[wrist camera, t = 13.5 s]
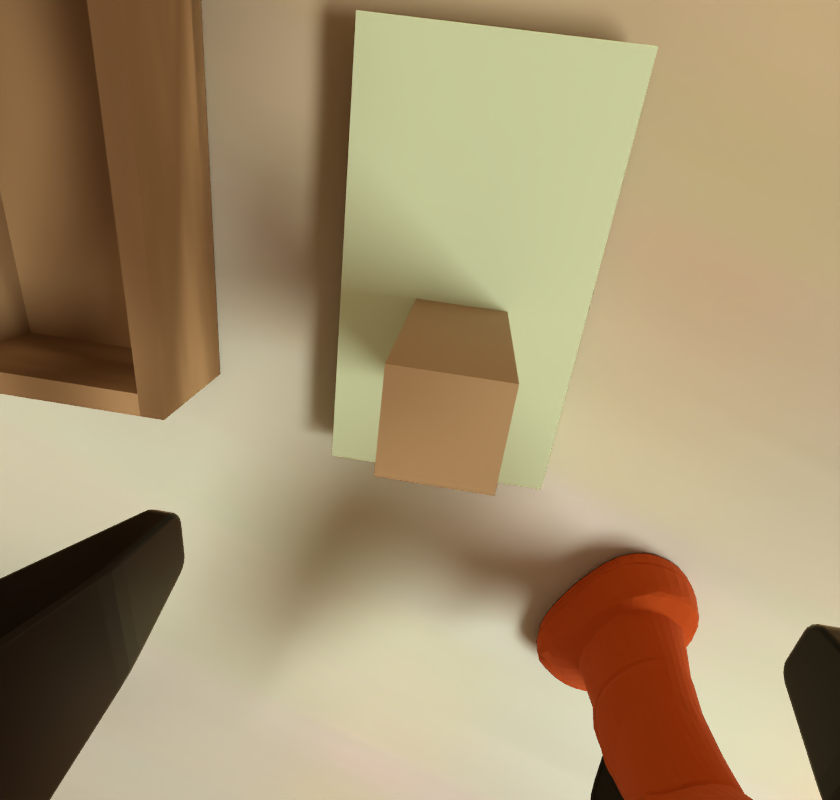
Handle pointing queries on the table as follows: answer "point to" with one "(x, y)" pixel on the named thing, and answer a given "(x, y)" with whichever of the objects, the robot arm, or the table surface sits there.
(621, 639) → the toy drill
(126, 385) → the tan wooden t-shaped piece
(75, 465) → the table surface
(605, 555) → the table surface
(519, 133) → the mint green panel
